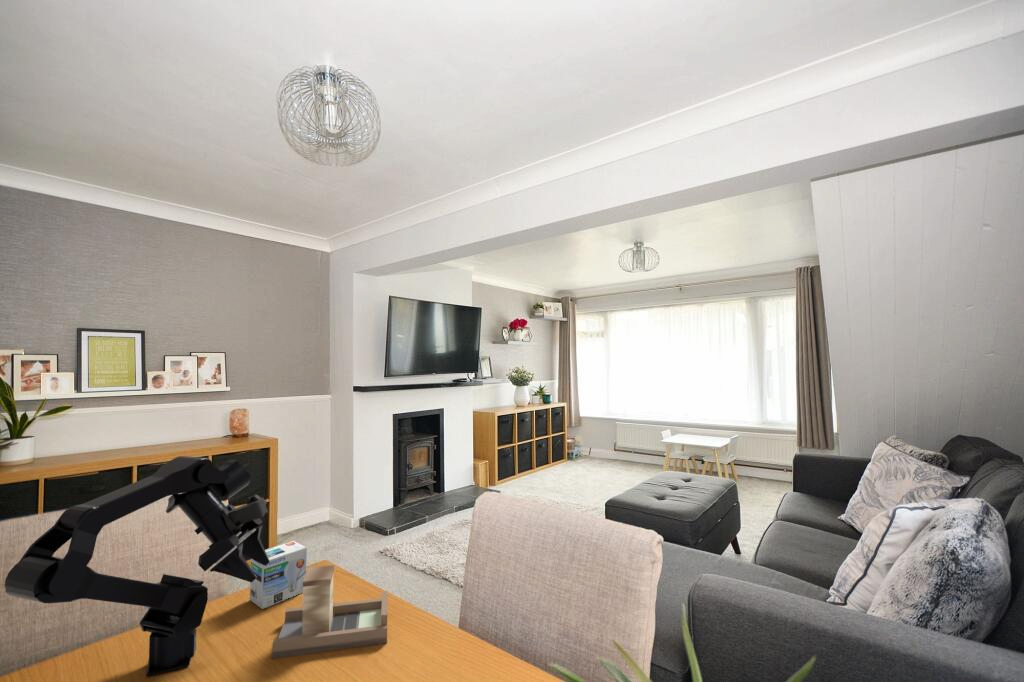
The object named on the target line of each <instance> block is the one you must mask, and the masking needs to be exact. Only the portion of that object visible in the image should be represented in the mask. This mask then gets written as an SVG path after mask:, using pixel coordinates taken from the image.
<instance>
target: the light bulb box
mask: <svg viewBox="0 0 1024 682" xmlns="http://www.w3.org/2000/svg"><path fill="white" fill-rule="evenodd" d="M265 552H266V554H267V556H268V559H269V563H268V564H267V565H262V564H260V563H258V562H256V561H255V560H253V559H251V558H250V568H251V569H252V571H253V572H254V574H255V576H256V579H255V580H254V581H253V582H249V583H250V585H249V601H251V602H252V603H253V604H254V605H255V606H257V607H258V608H260V609H261V610H264V609H267V608H269V607H271V606H273V605H276V604H279V603H281V601H282V602H284V601H287V600H288V598H289V599H292V598H294V597H297V596H299V595H302V594H303V580H304V577H305V574H306V572H307V561H308V560H307V558H308V556H307V555H308V553H307V552H308V547H306V546H305V545H302V544H300V543H298V542H297V541H295V540H291V541H289V542H286V543H282V544H279V545H275V546H273V547H269V548H267V549H266V548H265ZM251 587H252V588H251ZM301 593H302V594H301ZM298 594H299V595H298ZM296 595H297V596H296ZM293 596H294V597H293ZM286 599H287V600H286Z"/></svg>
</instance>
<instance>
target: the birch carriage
mask: <svg viewBox="0 0 1024 682" xmlns="http://www.w3.org/2000/svg"><path fill="white" fill-rule="evenodd" d="M334 571H335V565H325V566H324V565H322V566H310V567H307V568H306V574H305V577H304V580H303V593H302V607H303V623H302V635H309V634H317V633H325V632H330V627H331V623H332V618H333V604H334V573H335V572H334Z"/></svg>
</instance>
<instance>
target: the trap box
mask: <svg viewBox="0 0 1024 682" xmlns="http://www.w3.org/2000/svg"><path fill="white" fill-rule="evenodd" d="M388 596H389V593H388V590H386V591H381V597H379V598H371V599H362V600H354V601H353V600H352V601H346V602H343V601H342V602H336V603H334V602H333V618H332V623H331V627H330V632H325V633H317V634H309V635H302V623H303V606H300V607H292V608H286V609H285V612H284V622H283V625H282V627H281V630H280V632H279V634H278V638H273V641H272V659H278V658H279V659H280V658H287V657H294V656H295V657H296V656H302V655H308V654H317V653H325V652H330V651H331V652H332V651H338V650H339V651H340V650H346V649H353V648H361V647H367V646H369V647H370V646H376V645H383V644H387V643H388V606H389V605H388V599H389V598H388Z"/></svg>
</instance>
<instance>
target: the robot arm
mask: <svg viewBox="0 0 1024 682" xmlns="http://www.w3.org/2000/svg"><path fill="white" fill-rule="evenodd" d="M213 463H214V462H212V460H211V459H209V458H208V457H199V456H187V455H180V456H176V457H174V458H173V459H171V460H169V461H167V462H166V463H164V464H163V465H161V466H160V467H159V468H158V469H157V471H156V472H155V473H152V474H151V475H149V476H147V477H145V478H142V479H140V480H137V481H135V482H132V483H130V484H128V485H125V486H123V487H121V488H118V489H116V490H113V491H111V492H108V493H106V494H104V495H101V496H98V497H97V498H93V499H92V500H89V501H87V502H85V503H81V504H76V505H73V506H70V507H69V508H66V509H65V510H64V511H63V512H62V513H61V515H60V516H59V517H58V519H57V520H56V521H55V523H54V525H52V527H50V528H49V529H47V531H46V532H44V533H43V534H41V536H40V537H38V538H37V539H36V540H34V542H33V543H31V544H30V546H29V547H28V548H27V550H26V552H25V553H24V554H23V555H22V557H21V558H20V560H19V561H18V562H17V563H16V564H15V565H14V566H13V567H12V568H11V569H10V570H9V572H8V574H7V576H6V577H5V581H4V589H5V593H6V594H7V595H8V596H11V597H16V598H19V599H25V600H29V601H33V602H37V603H43V604H57V603H61V604H62V603H70V602H71V603H72V602H75V601H80V600H87V599H88V600H93V601H103V602H108V603H109V602H110V603H115V604H116V603H117V604H126V605H132V606H138V607H140V606H141V607H145V608H147V611H146V612H145V614H144V615H143V617H142V618H141V620H140V621H139V626H140V628H141V630H142V632H148V633H150V635H149V637H148V638H149V642H148V645H149V646H148V666H147V670H146V671H145V677H152V676H156V675H159V674H164V673H168V672H171V671H176V670H180V669H184V668H187V667H189V666H190V663H191V661H192V658H193V657H194V656H195V653H196V650H197V628H198V627H200V626H201V623H202V621H203V617H204V615H205V614H204V613H205V610H206V608H207V604H208V599H209V598H208V596H209V594H208V591H209V588H208V587H207V586H205V585H203V584H204V583H205V582H204V581H203V580H198V579H193V578H188V577H184V576H183V577H182V576H175V575H171V574H166V573H163V574H162V576H161V580H160V581H158V582H148V581H142V580H138V579H131V578H125V577H122V576H121V577H120V576H113V575H111V574H110V575H109V574H102V573H99V572H97V571H96V570H94V568H91V567H89V566H88V565H89V564H90V561H91V560H92V558H93V556H94V553H95V548H96V547H95V546H96V542H97V539H98V536H99V534H100V532H101V530H103V527H104V526H107V525H109V524H111V523H113V522H115V521H117V520H120V519H122V518H123V517H125V516H127V515H130V514H132V513H135V512H136V511H138V510H141V509H143V508H145V507H147V506H149V505H152V504H153V503H156V502H158V501H160V500H162V499H165V498H166V497H169V498H168V499H167V500H168V504H167V507H166V509H165V512H166V513H167V514H169V513H172V512H173V511H174V510H176V509H177V508H179V509H180V510H181V511H182V512H183V513H184V514H185V515H186V516H187V517H188V519H189V520H190V521H191V522H192V523H193V524H194V525H195V526H196V528H195V529H194V532H195V533H196V535H199V534H201V533H202V534H203V535H204V536H205V537H206V539H207V540H208V542H210V543H211V544H209V546H208V549H206V550H205V551H204V552H203V553H201V555H199V556H198V562H197V564H198V566H199V567H200V568H201V569H202V570H203V572H206V571H208V570H209V572H211V573H212V572H216V573H220V574H223V575H228V576H231V577H233V578H236V579H238V580H239V579H240V580H243V581H246V582H248V583H250V582H253V581H254V580H255V579H256V576H255V574H254V572H253V571H252V569H251V565H249V563H248V562H247V560H246V559H245V557H248V558H249V559H250V560H251V559H253V560H255V561H256V562H258V563H260V564H262V565H267V564H268V563H269V559H268V556H267V554H266V552H265V550H266V548H265V547H264V545H263V543H262V540H261V532H262V529H263V525H261V524H262V523H263V520H262V519H261V518H262V517H264V516H265V514H268V513H269V512H268V508H267V503H268V501H267V500H265V498H264V497H260V496H259V495H258V494H254V495H252V496H249V497H248V498H247V500H246V504H243V505H241V506H238V507H237V508H236V507H235V506H234V505H232V504H227V505H226V504H225V503H224V502H226V501H228V500H229V499H230V498H232V497H233V496H235V495H236V494H238V493H239V492H240V491H241V490H243V489H244V488H246V487H247V486H248V485H249V484H250V483H251V479H252V478H251V473H249V472H248V470H247V469H246V468H245V467H244V466H243V465H242V464H240V461H239V460H238V459H229V460H228V461H226V462H225V463H224V464H223V465H221V466H220V467H218V468H217V467H216V466H214V464H213ZM256 528H257V529H256ZM69 540H70V542H69ZM68 542H69V546H68V550H67V552H66V554H65V555H64V556H63V557H57V556H54V554H55V552H56V551H58V550H59V549H60V548H61V547H62V546H64V545H65V544H66V543H68ZM243 555H244V556H243ZM213 565H214V566H213Z"/></svg>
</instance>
